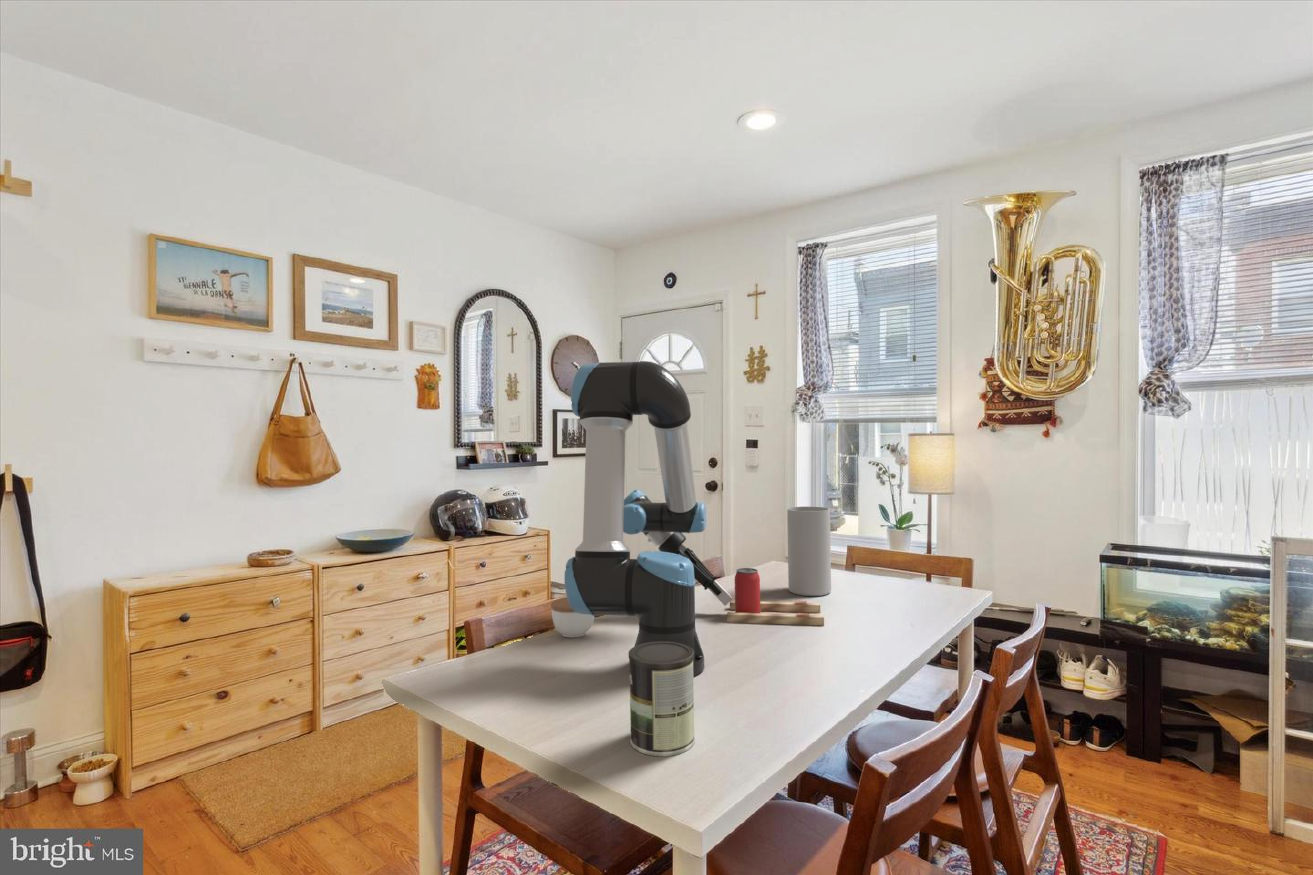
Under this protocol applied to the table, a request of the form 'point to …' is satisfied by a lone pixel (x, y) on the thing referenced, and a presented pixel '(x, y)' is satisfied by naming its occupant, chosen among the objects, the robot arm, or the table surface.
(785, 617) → the channel
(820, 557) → the cylinder vase
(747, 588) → the beer can
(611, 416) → the robot arm
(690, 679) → the coffee can
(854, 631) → the table surface
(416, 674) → the table surface
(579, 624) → the lidded jar
